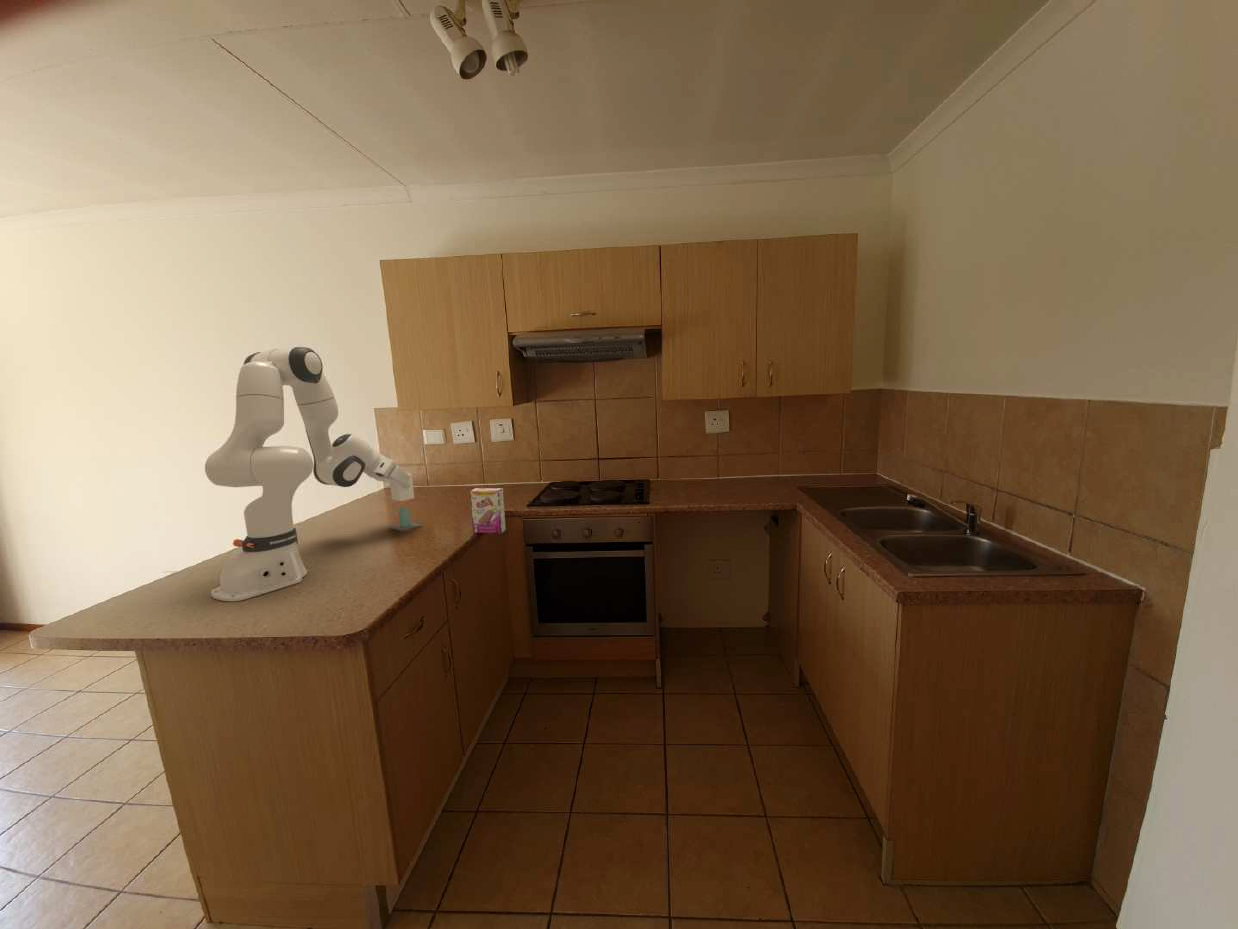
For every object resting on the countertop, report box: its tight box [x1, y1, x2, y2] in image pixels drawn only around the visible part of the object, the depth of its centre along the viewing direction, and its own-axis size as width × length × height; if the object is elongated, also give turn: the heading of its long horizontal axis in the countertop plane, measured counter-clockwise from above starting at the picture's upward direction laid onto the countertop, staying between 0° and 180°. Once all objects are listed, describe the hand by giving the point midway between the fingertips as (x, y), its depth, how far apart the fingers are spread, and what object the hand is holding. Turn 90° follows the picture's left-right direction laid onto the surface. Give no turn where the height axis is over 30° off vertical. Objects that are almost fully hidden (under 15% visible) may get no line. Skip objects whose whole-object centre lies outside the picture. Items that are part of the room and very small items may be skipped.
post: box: [389, 506, 422, 533], centre depth 190 cm, size 8×8×8 cm
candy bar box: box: [469, 487, 507, 535], centre depth 180 cm, size 11×5×16 cm, turn 84°
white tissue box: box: [389, 472, 415, 502], centre depth 188 cm, size 6×6×10 cm
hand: (403, 486), depth 188 cm, fingers closed on white tissue box, 6 cm apart
